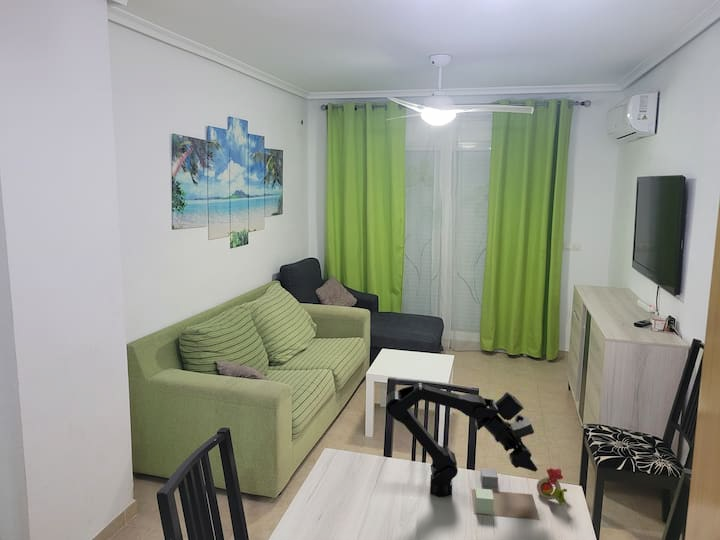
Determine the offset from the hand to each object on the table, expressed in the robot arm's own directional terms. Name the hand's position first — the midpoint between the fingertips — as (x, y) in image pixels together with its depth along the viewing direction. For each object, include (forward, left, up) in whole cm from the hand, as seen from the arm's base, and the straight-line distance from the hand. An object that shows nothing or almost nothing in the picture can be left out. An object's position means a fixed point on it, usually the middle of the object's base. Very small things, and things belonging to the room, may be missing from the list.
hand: (532, 462), depth 171 cm
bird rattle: (+7, +1, -13) cm, 15 cm away
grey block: (-12, +6, -13) cm, 19 cm away
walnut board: (-9, -6, -13) cm, 16 cm away
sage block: (-15, -9, -11) cm, 21 cm away
